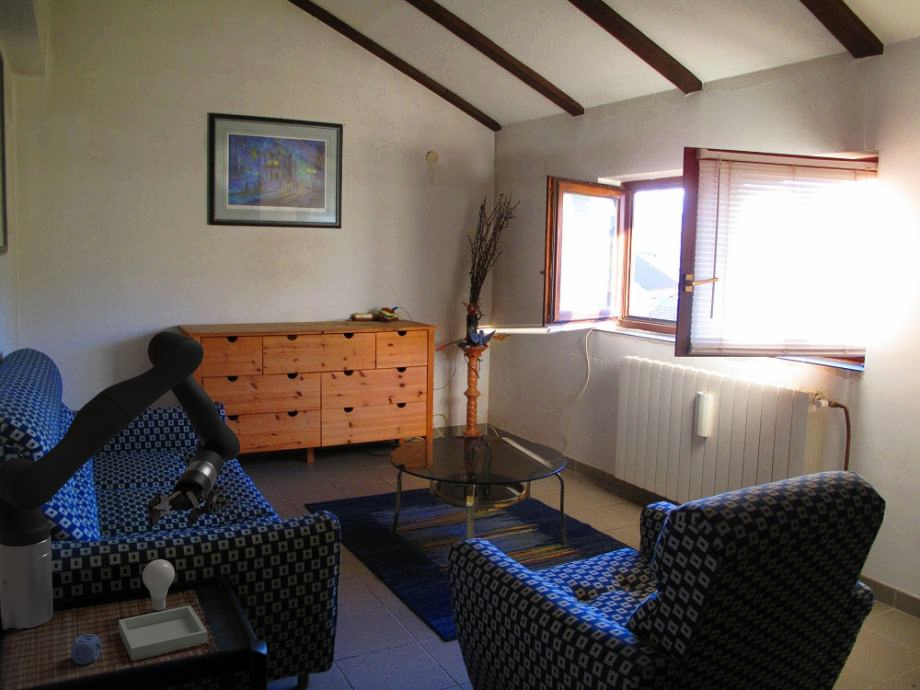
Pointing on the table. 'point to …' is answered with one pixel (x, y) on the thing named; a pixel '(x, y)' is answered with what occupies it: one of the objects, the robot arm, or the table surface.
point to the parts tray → (161, 632)
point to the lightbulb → (158, 581)
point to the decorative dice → (86, 648)
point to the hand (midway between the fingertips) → (170, 522)
